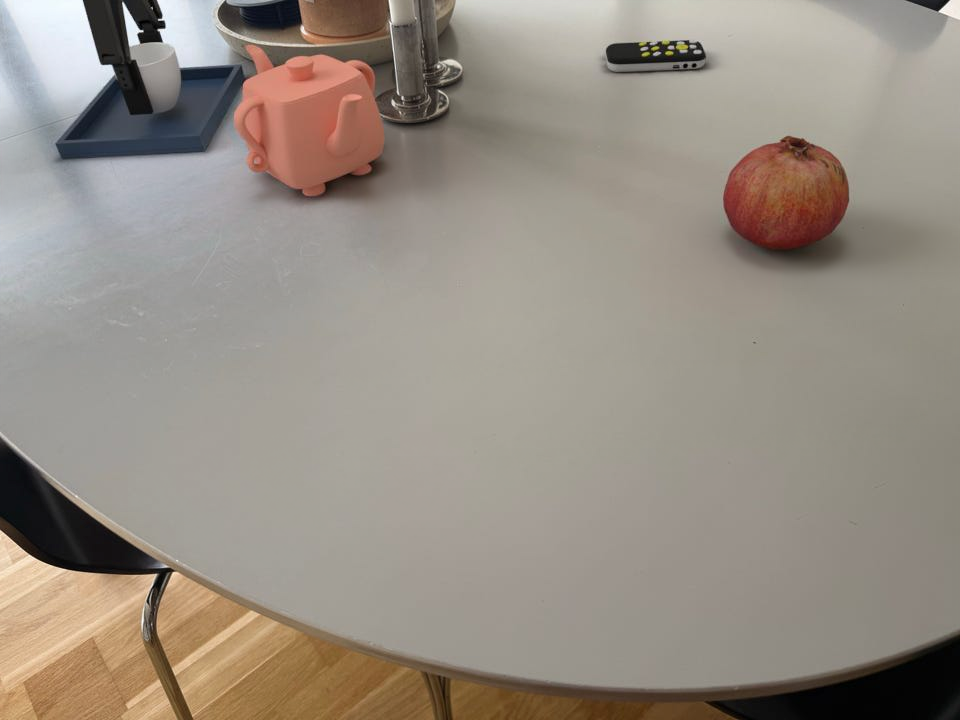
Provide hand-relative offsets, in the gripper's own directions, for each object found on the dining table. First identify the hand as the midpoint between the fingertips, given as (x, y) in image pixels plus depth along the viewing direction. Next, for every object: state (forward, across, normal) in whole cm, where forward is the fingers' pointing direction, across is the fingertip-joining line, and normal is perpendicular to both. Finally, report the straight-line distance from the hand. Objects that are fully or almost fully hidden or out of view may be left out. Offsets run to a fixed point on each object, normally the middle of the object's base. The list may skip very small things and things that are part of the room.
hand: (153, 97), depth 105 cm
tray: (+2, 0, 0) cm, 2 cm away
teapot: (+3, -17, -24) cm, 30 cm away
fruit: (+3, -35, -70) cm, 78 cm away
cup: (+1, 0, 0) cm, 1 cm away
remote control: (+3, +8, -65) cm, 66 cm away
